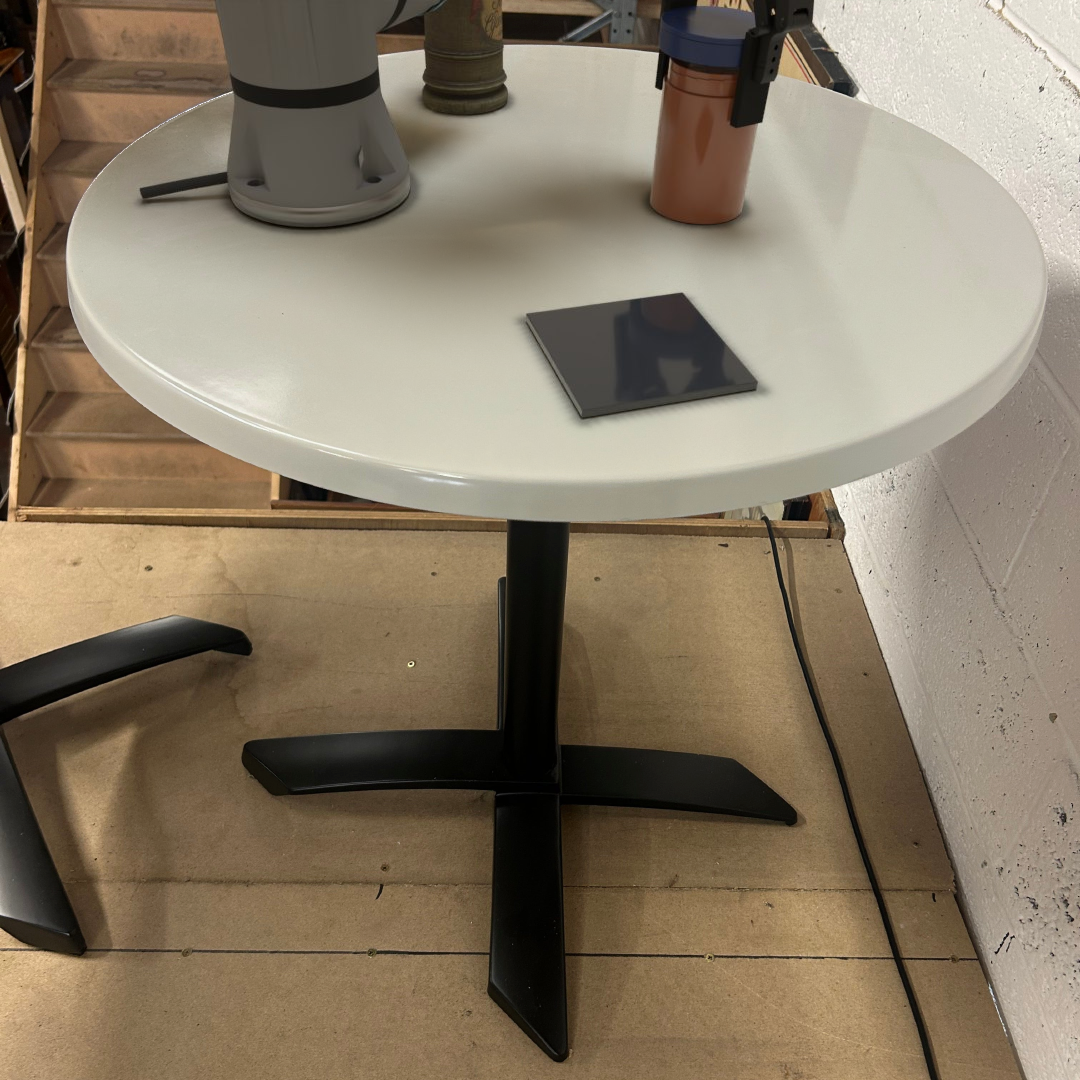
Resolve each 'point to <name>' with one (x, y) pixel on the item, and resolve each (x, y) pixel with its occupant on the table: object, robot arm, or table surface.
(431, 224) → the table surface
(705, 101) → the jar
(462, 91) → the container
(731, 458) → the table surface
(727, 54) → the lid
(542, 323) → the coaster
